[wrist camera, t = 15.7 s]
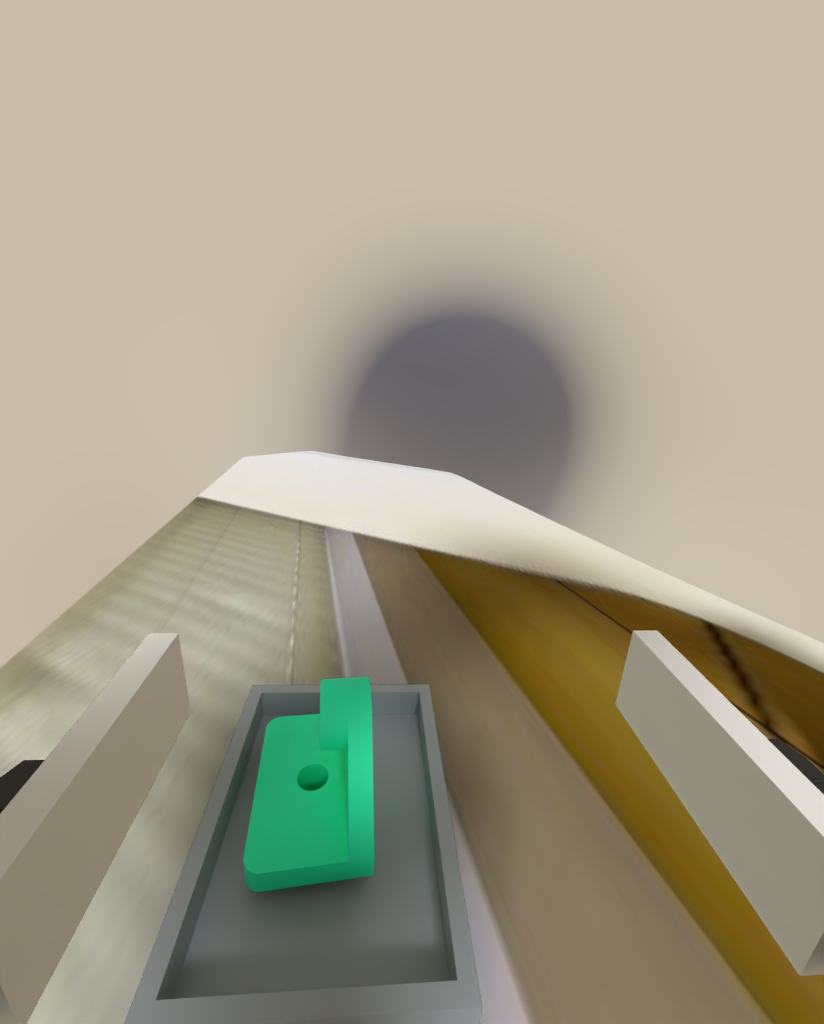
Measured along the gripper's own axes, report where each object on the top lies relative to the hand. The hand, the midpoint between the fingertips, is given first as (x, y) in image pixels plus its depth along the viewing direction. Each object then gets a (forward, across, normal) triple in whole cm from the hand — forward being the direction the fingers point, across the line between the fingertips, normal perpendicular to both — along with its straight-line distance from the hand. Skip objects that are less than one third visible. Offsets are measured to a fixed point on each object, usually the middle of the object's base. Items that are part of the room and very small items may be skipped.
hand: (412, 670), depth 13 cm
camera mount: (+13, -5, -22) cm, 27 cm away
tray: (+12, -4, -23) cm, 26 cm away
